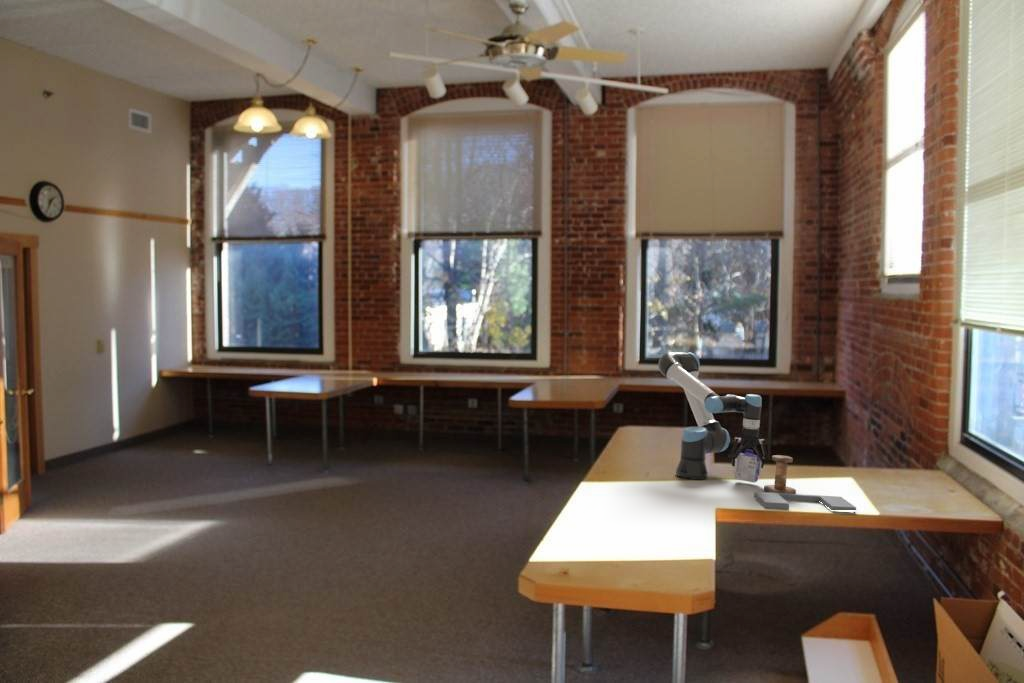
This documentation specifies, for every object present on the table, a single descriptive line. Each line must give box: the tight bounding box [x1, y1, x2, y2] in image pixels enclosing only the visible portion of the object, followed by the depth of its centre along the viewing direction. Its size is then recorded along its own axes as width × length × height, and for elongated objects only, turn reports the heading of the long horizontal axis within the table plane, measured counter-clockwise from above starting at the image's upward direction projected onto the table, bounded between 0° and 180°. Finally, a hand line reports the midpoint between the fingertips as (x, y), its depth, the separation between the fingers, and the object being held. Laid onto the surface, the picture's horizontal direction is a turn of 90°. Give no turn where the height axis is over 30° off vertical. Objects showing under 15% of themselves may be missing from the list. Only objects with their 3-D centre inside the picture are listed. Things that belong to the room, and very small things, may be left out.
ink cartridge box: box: [734, 448, 760, 483], centre depth 409 cm, size 10×6×14 cm, turn 60°
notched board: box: [753, 491, 857, 511], centre depth 375 cm, size 38×18×2 cm, turn 89°
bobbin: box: [763, 454, 797, 494], centre depth 396 cm, size 14×14×16 cm
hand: (746, 473), depth 409 cm, fingers closed on ink cartridge box, 11 cm apart
